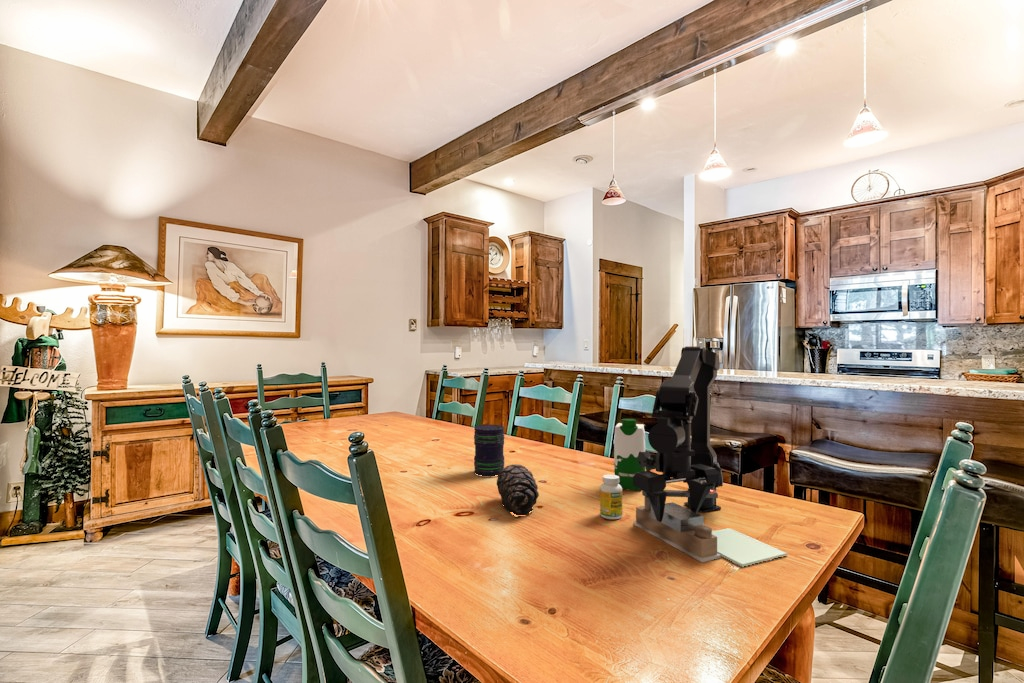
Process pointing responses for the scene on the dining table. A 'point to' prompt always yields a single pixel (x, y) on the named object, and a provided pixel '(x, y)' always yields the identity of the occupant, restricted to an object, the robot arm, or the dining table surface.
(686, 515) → the flat grey slab block
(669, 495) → the lever
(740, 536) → the mat
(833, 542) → the dining table surface
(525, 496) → the pine cone
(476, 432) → the storage jar
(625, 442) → the milk carton
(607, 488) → the supplement bottle
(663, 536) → the body
